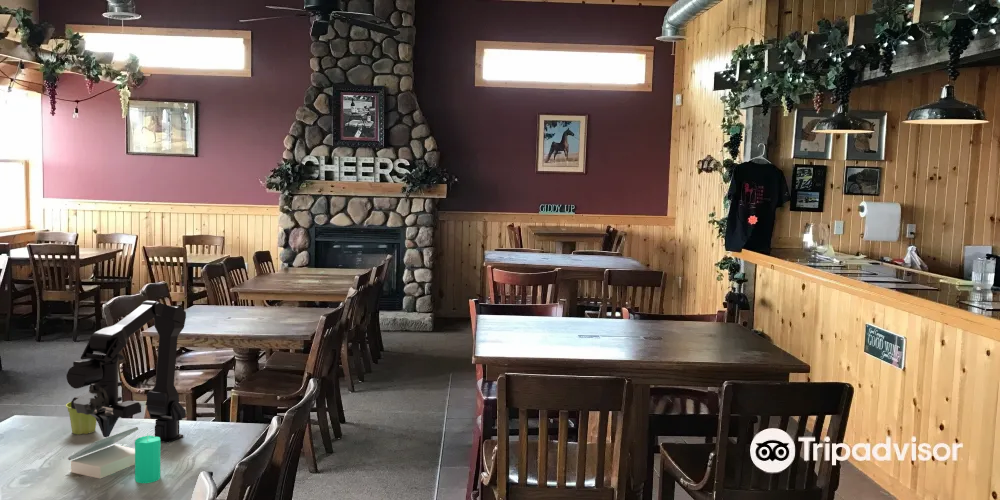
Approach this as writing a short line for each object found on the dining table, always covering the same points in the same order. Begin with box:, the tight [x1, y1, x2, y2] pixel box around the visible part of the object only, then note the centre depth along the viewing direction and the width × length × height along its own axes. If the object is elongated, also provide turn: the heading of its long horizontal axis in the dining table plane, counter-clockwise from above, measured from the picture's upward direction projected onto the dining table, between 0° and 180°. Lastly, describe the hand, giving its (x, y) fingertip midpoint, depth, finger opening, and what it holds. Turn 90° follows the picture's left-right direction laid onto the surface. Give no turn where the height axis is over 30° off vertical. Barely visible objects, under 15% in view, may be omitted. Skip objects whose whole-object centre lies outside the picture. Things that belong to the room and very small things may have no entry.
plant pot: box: [65, 401, 97, 435], centre depth 231 cm, size 9×9×9 cm
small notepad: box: [70, 444, 135, 479], centre depth 205 cm, size 14×10×3 cm
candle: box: [134, 434, 162, 484], centre depth 197 cm, size 6×6×12 cm
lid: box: [67, 426, 139, 461], centre depth 205 cm, size 14×11×1 cm
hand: (106, 436), depth 205 cm, fingers closed
